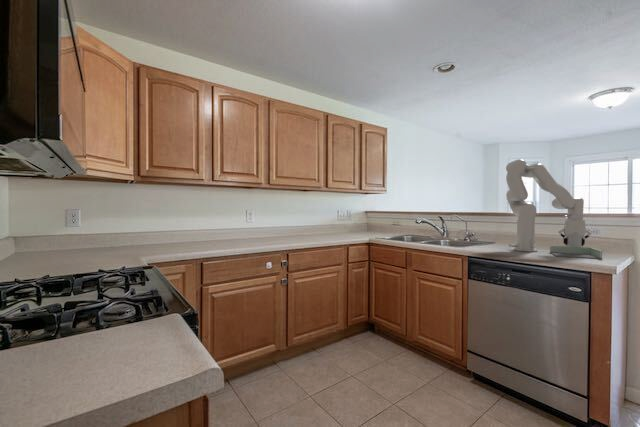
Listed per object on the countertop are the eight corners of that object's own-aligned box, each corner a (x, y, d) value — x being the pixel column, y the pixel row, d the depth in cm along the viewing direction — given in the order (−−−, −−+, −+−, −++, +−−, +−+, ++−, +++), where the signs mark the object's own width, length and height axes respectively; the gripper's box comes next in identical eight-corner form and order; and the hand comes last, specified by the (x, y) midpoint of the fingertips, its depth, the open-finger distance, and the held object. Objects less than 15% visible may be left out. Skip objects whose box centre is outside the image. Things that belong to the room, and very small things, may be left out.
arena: (556, 256, 171) (556, 248, 171) (549, 252, 185) (550, 245, 185) (602, 259, 161) (602, 250, 161) (591, 255, 176) (592, 247, 176)
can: (580, 250, 190) (581, 231, 189) (582, 251, 184) (583, 232, 183) (565, 249, 194) (566, 230, 194) (566, 250, 188) (567, 231, 187)
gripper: (559, 216, 189) (558, 244, 189) (595, 218, 181) (593, 246, 181) (556, 216, 196) (555, 243, 196) (590, 217, 188) (589, 245, 188)
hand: (573, 244), depth 189 cm, fingers closed on can, 7 cm apart
